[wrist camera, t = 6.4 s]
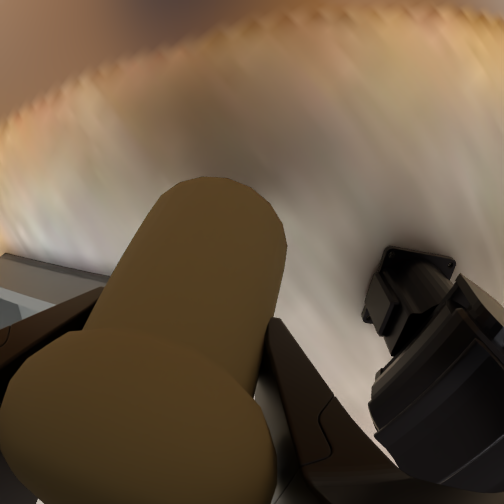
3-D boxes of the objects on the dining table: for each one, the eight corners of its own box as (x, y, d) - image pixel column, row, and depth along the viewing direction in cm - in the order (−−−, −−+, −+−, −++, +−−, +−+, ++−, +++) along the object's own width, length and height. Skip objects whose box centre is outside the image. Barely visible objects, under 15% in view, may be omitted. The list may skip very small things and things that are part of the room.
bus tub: (148, 284, 24) (125, 322, 19) (157, 407, 31) (146, 443, 26) (5, 253, 24) (-27, 277, 19) (39, 369, 31) (21, 396, 26)
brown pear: (117, 240, 13) (-53, 444, 3) (216, 143, 11) (-53, 353, 1) (211, 331, 15) (155, 565, 5) (317, 259, 13) (374, 555, 3)
